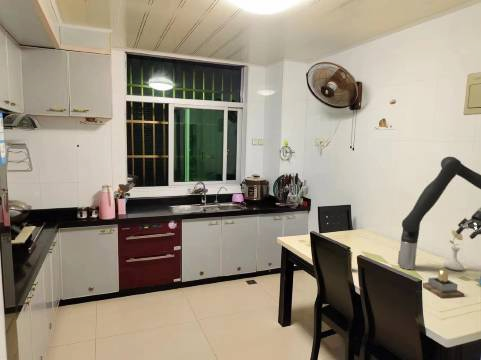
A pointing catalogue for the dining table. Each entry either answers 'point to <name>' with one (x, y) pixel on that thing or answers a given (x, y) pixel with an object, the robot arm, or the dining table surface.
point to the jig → (442, 288)
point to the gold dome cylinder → (443, 276)
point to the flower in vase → (454, 254)
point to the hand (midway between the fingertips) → (463, 235)
